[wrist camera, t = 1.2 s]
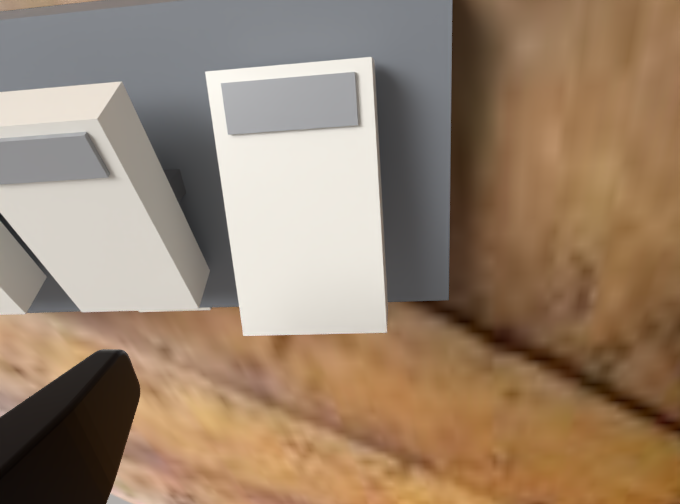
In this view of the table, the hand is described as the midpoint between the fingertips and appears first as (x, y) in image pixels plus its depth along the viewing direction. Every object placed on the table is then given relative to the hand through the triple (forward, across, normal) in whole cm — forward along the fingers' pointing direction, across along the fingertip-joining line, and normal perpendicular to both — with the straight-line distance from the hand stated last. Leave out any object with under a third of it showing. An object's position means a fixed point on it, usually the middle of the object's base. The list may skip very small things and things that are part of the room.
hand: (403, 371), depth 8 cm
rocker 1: (+6, +2, 0) cm, 7 cm away
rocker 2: (+6, +8, 0) cm, 11 cm away
